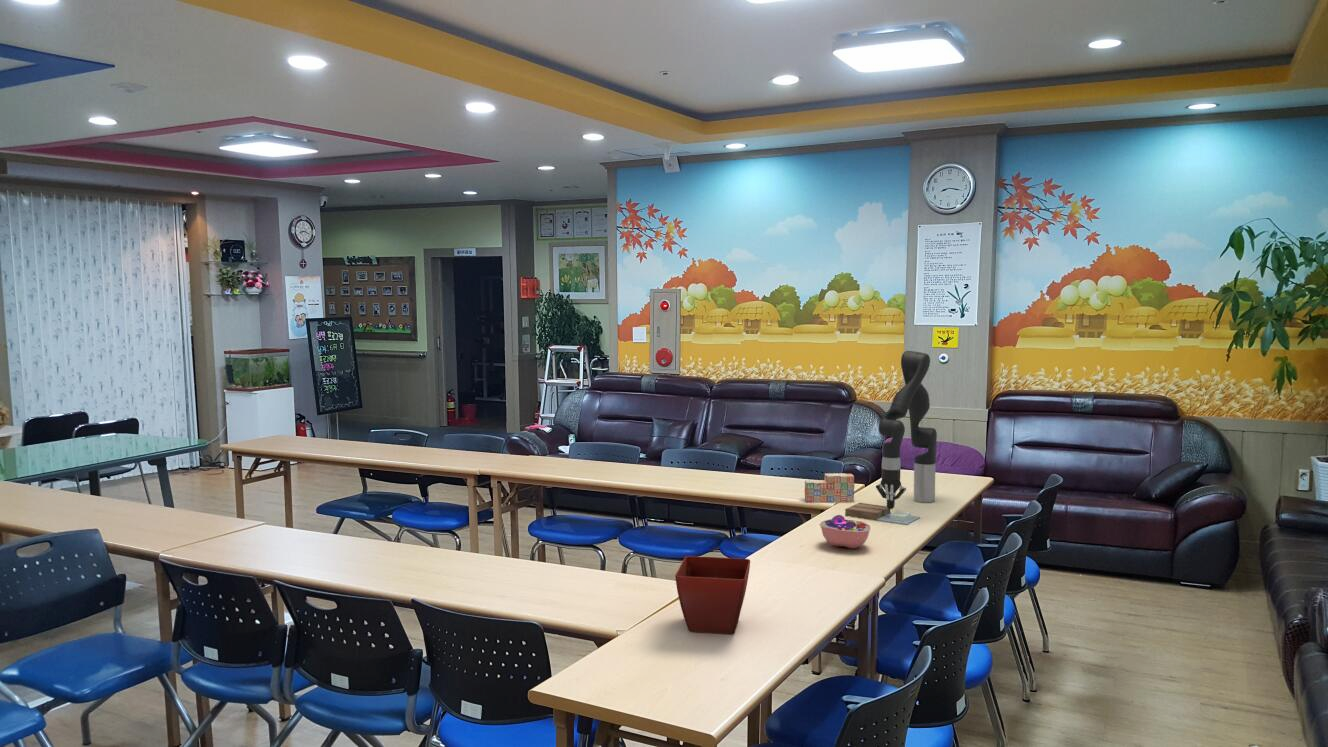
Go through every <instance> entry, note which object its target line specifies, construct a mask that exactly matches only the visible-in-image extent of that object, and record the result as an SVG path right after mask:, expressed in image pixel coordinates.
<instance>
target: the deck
mask: <svg viewBox="0 0 1328 747" xmlns="http://www.w3.org/2000/svg"><path fill="white" fill-rule="evenodd" d="M844 510H845V511H844V515H845V516H844V517H848V516H850V518H855V517H857V518H858V519H862V518H863V520H869V521H876V522H877V519H879V518H881V517H883V516H885V515H887V514H889V513H891V509H888V507H887V505H879V504H872V503H871V504H870V503H864V502H858V503H856V504H853V505H852V506H849V507H847V508H845V509H844Z"/></svg>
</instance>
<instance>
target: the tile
mask: <svg viewBox="0 0 1328 747" xmlns="http://www.w3.org/2000/svg"><path fill="white" fill-rule="evenodd" d="M891 513H892V514H890V519H891V520H898V521H906V520H908V519H909V518H911V516H912V512H909V511H902V510H896V511H894V512H891Z"/></svg>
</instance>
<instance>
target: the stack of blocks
mask: <svg viewBox="0 0 1328 747" xmlns="http://www.w3.org/2000/svg"><path fill="white" fill-rule="evenodd" d="M804 501H805V502H806V503H807V504H808V503H809V504H810V503H811V504H812V503H815V504H816V503H818V504H820V503H821V504H822V503H827V504H828V503H829V504H830V503H831V504H832V503H835V504H836V503H841V504H842V503H847V504H849V503H851V504H852V502H853V503H855V475H853V474H852V473H844V472H843V473H842V472H841V473H840V472H839V473H824V479H812V480H811V479H805V480H804Z"/></svg>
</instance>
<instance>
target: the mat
mask: <svg viewBox="0 0 1328 747" xmlns="http://www.w3.org/2000/svg"><path fill="white" fill-rule="evenodd" d="M892 513H893V512H890V513H889V514H887V515H885V516H883V517H881V518H879V519H877V521H878V522H884V523H891V524H897V525H902V526H904V525H905V526H908V525H910V524H912V523H914V522H916V521H917V520H920V519H921V516H916V515H911V518H909V519H908V520H906V521H898V520H891V519H890V514H892ZM877 521H876V522H877Z"/></svg>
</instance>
